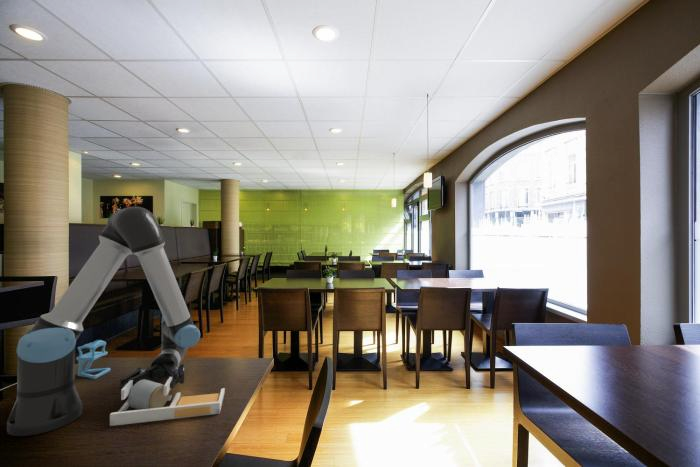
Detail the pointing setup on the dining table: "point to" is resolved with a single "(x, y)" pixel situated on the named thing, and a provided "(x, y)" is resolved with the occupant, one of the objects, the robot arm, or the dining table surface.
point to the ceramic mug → (147, 395)
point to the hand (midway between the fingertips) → (144, 392)
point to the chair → (91, 359)
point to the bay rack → (171, 409)
